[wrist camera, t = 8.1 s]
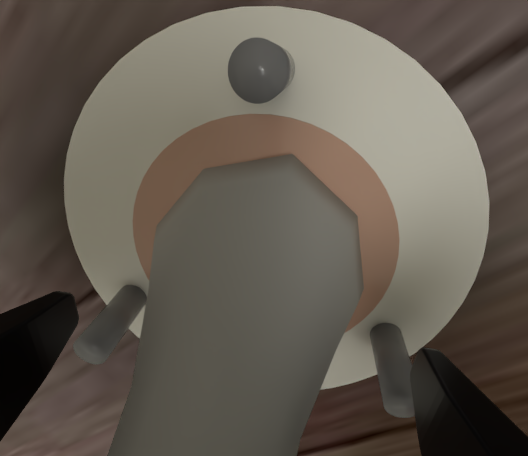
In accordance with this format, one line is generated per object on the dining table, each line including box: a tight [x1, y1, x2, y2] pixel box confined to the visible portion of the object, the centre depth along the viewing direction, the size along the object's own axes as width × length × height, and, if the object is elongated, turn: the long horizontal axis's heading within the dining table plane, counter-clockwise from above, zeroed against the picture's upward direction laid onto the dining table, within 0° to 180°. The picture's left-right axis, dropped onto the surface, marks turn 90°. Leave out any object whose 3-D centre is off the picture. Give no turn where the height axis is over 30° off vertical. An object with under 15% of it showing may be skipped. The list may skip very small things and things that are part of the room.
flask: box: [108, 154, 364, 456], centre depth 7 cm, size 7×7×10 cm
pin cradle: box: [64, 6, 489, 418], centre depth 11 cm, size 15×15×4 cm
